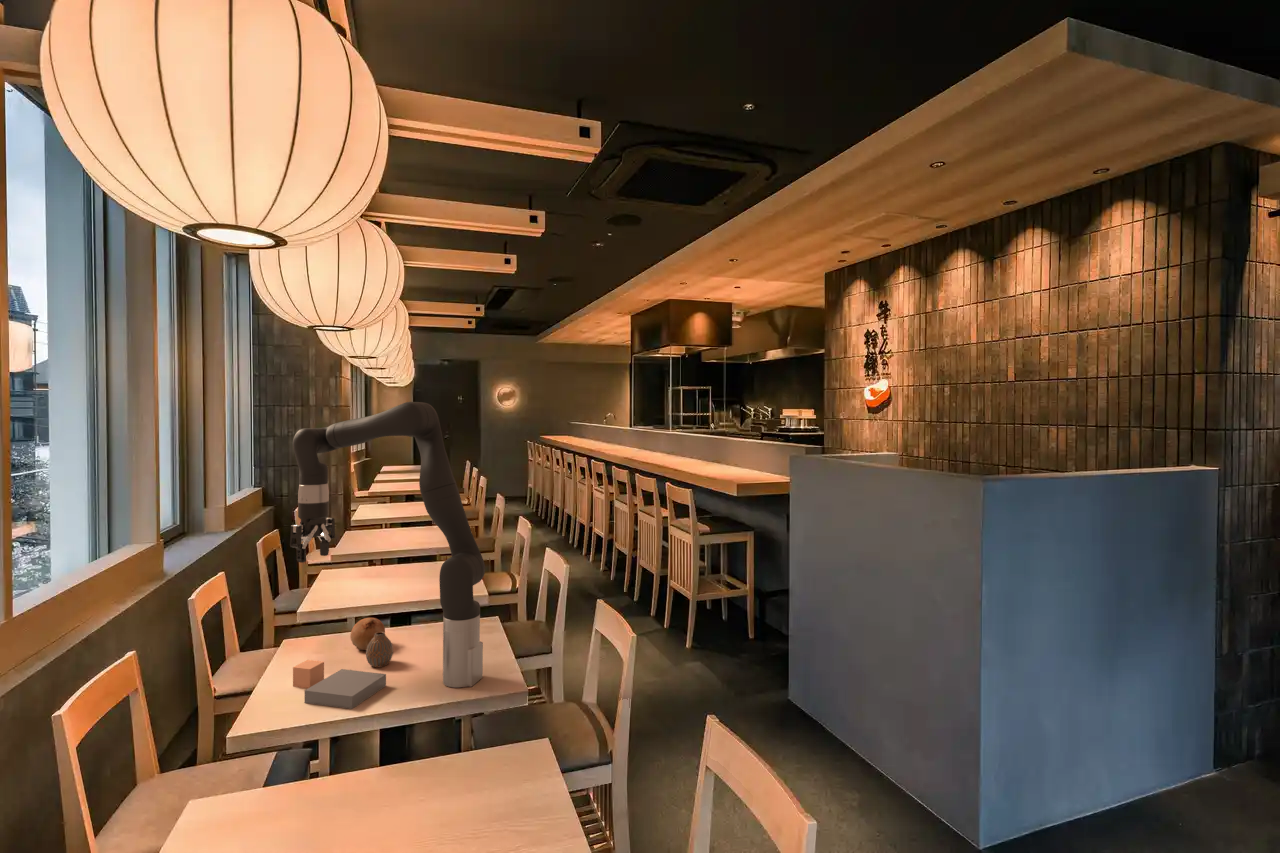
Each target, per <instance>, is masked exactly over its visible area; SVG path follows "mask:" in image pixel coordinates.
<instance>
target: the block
mask: <svg viewBox="0 0 1280 853" xmlns="http://www.w3.org/2000/svg"><path fill="white" fill-rule="evenodd" d="M324 679H325V661H322V660H315V659H307V660H304V661H302V662H300V663H298V664H297V665H295V666H293V667H292V687H294V688H302V689H308V688H310V687H311V686H313V685H315V684H317V683H318V682H320V681H322V680H324Z"/></svg>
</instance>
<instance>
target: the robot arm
mask: <svg viewBox="0 0 1280 853" xmlns="http://www.w3.org/2000/svg"><path fill="white" fill-rule="evenodd" d="M400 436H402V437H404V436H405V437H411V438H412V437H414V440H415V443H416V445H417V448H418V451H419V454H420V455H419V456H420V469H419V479H418V480H419V485H418V486H419V491H420V495H421V498H422V502H423V503H424V504H423V505H424V508H425V511H426V512H427V515H428V516H429V517H430V519H431V520H432V521H433V523H434V524H435V525H436V526H437V528H439V530H440V531H441V532H442V534H443V535H444V537H445V539H446V541H447V544H448V547H449V550H450V554H451V557H449V558H447V559H446V560H445V561H443V563H442V564H441V567H440V571H439V579H438V580H439V582H438V583H439V602H440V606H441V608H442V611H443V612H442V613H443V617H442V618H443V619H442V620H443V624H442V625H443V627H442V630H443V631H442V683H443V685H444V686H446V687H449V688H464V687H465V688H466V687H473V686H474V685H475V684H477V683H478V682H479V681H480V680H481V679H483V674H484V672H483V670H484V668H483V667H484V666H483V665H484V664H483V662H484V659H483V657H484V656H483V655H484V654H483V652H484V650H483V649H484V642H483V641H480V640H481V635H480V633H481V628H480V627H481V604H480V602H478V601H477V600H474V586H475V585H477V584H479V583H480V582H481V581H482V580H483V578H484V576H485V573H486V565H485V561H484V558H483V555H482V553H481V551H480V549H479V546H478V544H477V542H476V539H475V537H474V535H473V533H472V529H471V527H470V524H469V520H468V517H467V514H466V511H465V508H464V505H463V502H462V499H461V494H460V492H459V491H460V490H459V488H458V485H457V481H456V479H455V477H454V474H453V470H452V467H451V464H450V460H449V457H448V454H447V452H446V447H445V442H444V438H443V433H442V429H441V423H440V418H439V415H438V413H437V411H436V409H435V408H434V407H433V406H432V405H431V404H430V403H427V402H424V401H423V402H422V401H420V402H419V401H407V402H403V403H400V404H397V405H396V406H394V407H391V408H389V409H387V410H384V411H381V412H378V413H375V414H373V415H372V414H371V415H369V416H368V415H367V416H364V417H363V416H362V417H357V418H353V419H348V420H344V421H343V420H342V421H338V422H335V423H333V424H330V425H329V426H325V427H313V428H312V427H310V428H309V427H306V428H300V429H299V430H298V431H297V432H296V433H295V434H294V436H293V440H292V448H293V453H294V457H295V460H296V465H297V467H298V469H299V472H298V473H299V474H298V478H299V480H298V483H299V485H298V492H297V494H298V495H297V499H298V500H297V506H298V507H297V517H298V518H299V519H300V523H299V524H292V525H290V533H289V534H290V538H289V546H290V548H295V549H296V561H297V563H306V562H307V548H306V547H307V546H308V544H309V543H310V542H311V541H312V539H314V538H317V537H318V539H319V541H320V542H319V554H320V556H323V557H326V556H329V552H330V542H331V540H333V539H335V538H336V523H335V518H334V517H329V514H330V513H329V510H330V507H329V504H330V501H329V500H330V498H329V497H330V491H329V468H328V465H327V463H325V462H321V461H319V458H318V454H323V453H328V452H332V451H335V450H338V449H342V448H347V447H352V446H356V445H357V446H359V445H362V444H364V443H367V442H370V441H373V440H376V439H378V438H379V439H380V438H384V437H400Z"/></svg>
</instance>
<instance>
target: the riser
mask: <svg viewBox="0 0 1280 853" xmlns="http://www.w3.org/2000/svg"><path fill="white" fill-rule="evenodd" d="M386 686H387V674H386V673H381V672H380V673H379V672H371V671H362V670H356V669H355V670H353V669H345V668H341V669H339V670H337V671H336V672H334V673H332V674H331V675H329V676H327V677H326V678H325V677H324V680H322V681H320V682H318V683H317V684H315V685H313V686H311V687H310V688H305V689H304V703H305V704H310V705H311V704H312V705H319V706H327V707H334V708H342V709H349V710H353V709H354V708H355V707H357V706H359V705H360V704H362V703H363V702H364V701H366V700H368V699H369V698H370V697H371V696H373V695H375V694H376V693H378V692H379V691H380V690H382V689H384V688H385V687H386Z"/></svg>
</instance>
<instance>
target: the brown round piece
mask: <svg viewBox="0 0 1280 853" xmlns="http://www.w3.org/2000/svg"><path fill="white" fill-rule="evenodd" d="M377 632H384V633H385V634H386V629H385V624H384V623H383V622H382V620H380V619H378V618H377V617H365V618H362V619H360V620H358V621H357V622H356V623H355V624H354V625H353V627H352V629H351V631H350V640H351V644H352V645H353V646H354V647H355V649H357V650H360V651H366V650H367V646H368V644H369V642H370V641H371V640H372V639H373V637H374V635H375V633H377Z"/></svg>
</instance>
